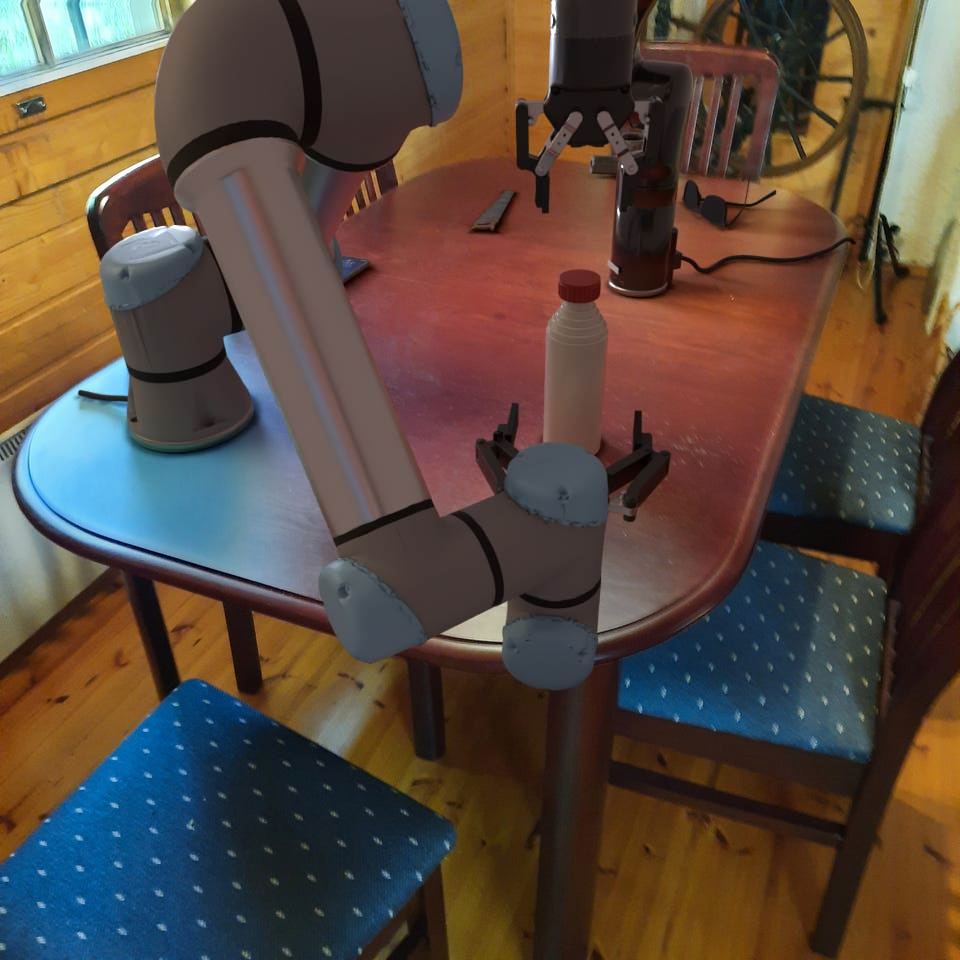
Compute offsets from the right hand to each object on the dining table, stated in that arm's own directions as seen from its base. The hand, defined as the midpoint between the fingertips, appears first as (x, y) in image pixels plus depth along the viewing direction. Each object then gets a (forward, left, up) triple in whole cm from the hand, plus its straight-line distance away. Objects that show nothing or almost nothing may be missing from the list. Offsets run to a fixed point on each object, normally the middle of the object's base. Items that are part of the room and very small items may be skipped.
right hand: (583, 210), depth 86 cm
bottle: (0, 0, -28) cm, 28 cm away
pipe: (-62, -83, -28) cm, 107 cm away
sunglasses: (-68, -54, -28) cm, 91 cm away
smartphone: (+10, -61, -28) cm, 68 cm away
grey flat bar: (-29, -76, -28) cm, 86 cm away
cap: (0, 0, -7) cm, 7 cm away
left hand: (+2, +3, -22) cm, 22 cm away
